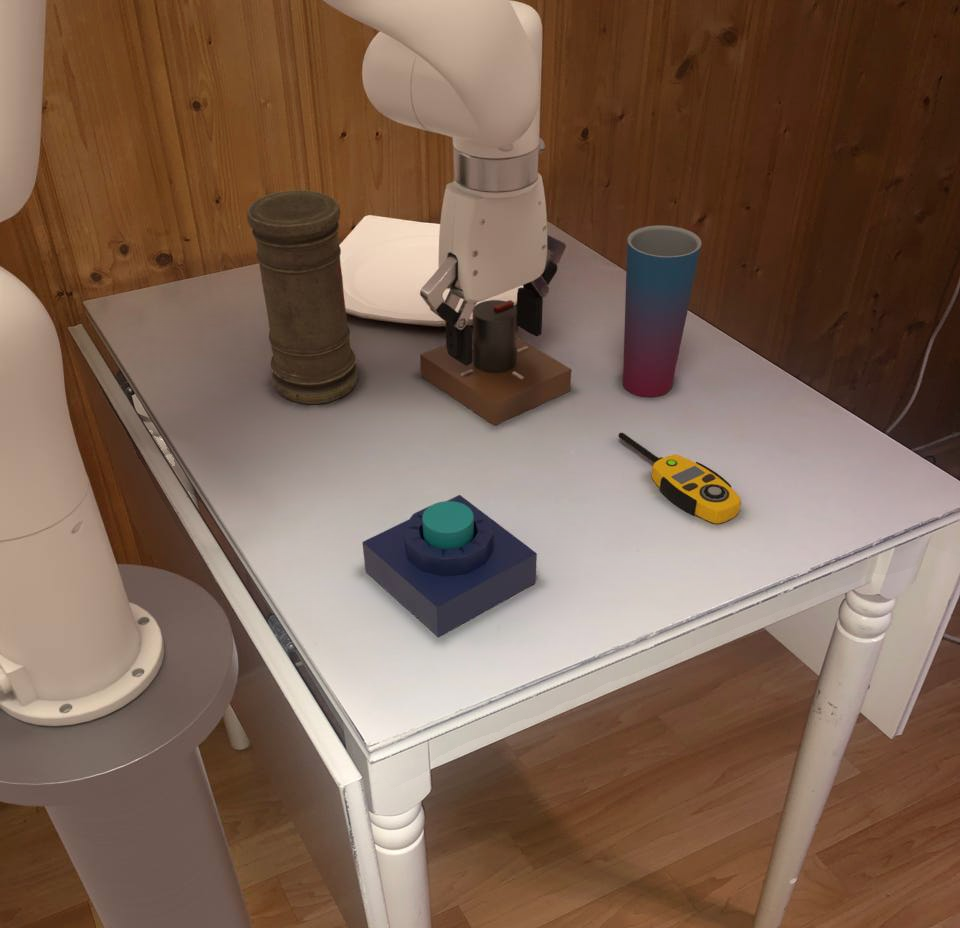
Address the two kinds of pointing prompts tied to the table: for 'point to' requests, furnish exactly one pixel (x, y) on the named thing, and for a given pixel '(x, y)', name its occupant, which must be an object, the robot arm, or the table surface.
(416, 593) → the teal button cap base
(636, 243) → the cup
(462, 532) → the teal button cap
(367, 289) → the plate
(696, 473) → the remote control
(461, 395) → the console
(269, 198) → the container
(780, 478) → the table surface
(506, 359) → the dial
